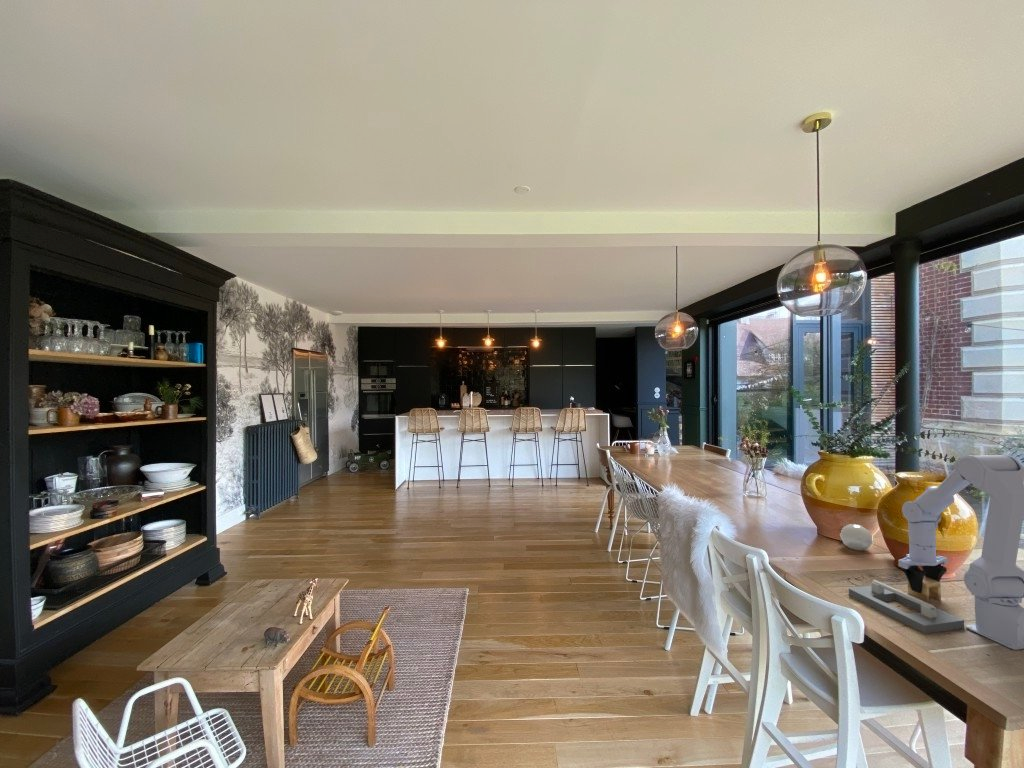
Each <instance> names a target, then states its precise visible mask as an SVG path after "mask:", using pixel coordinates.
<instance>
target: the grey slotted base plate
mask: <svg viewBox="0 0 1024 768" xmlns="http://www.w3.org/2000/svg"><path fill="white" fill-rule="evenodd" d="M870 583H871V584H870V585H866V586H859V587H858V586H857V587H850V588H848V597H849V596H850V597H852V598H853V599H855V600H857V601H859V602H861V603H864V604H865V605H867V606H869V607H871V608H873V609H875V610H877V611H879V612H881V613H884V614H885V615H887V616H888V617H891V618H893V619H895V620H897V621H899V622H901V623H903V624H904V625H907V624H908V625H907V626H909V627H910V628H912V629H915V630H917V631H919V632H920V633H922V634H933V633H939V632H940V631H941V632H947V631H946V630H948V631H952V630H951V629H955V630H960V629H959V628H962V629H965V619H962V618H960V617H958V616H955V615H954V614H951V613H949V612H946V611H944V610H942V609H939V608H937V607H935V605H934V604H932V603H929V602H927V601H925V600H922V599H920V598H918V597H916V596H913V595H911V594H909V593H905V592H903V591H901V590H899V589H896V588H894V587H892V586H890V585H887V584H885V583H883V582H881V581H879V580H876V579H872V581H871V582H870ZM891 601H896V602H899V603H901V604H903V605H905V606H907V605H908V606H907V607H909V606H910V608H912V609H914V610H916V611H918V612H917V613H908V612H905V611H904V610H902V609H899V608H897V607H896V606H894V605H891V604H889V603H887V602H891Z"/></svg>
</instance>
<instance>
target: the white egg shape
mask: <svg viewBox="0 0 1024 768" xmlns="http://www.w3.org/2000/svg"><path fill="white" fill-rule="evenodd" d="M845 525H846V526H844V527H843V528H842V530H841V533H840V534H839V533H838V536H840V539H841V540H842V544H843V545H845V546H846V547H848V548H849V549H851V550H852V551H853V550H855V551H866V550H869V548H870V547H871V546H872V544H873V536H872V534H871V532H870V530H869V529H867V528H865V527H864V526H863V525H861V524H856V523H854V524H853V523H849V524H845Z"/></svg>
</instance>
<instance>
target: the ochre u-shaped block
mask: <svg viewBox="0 0 1024 768" xmlns="http://www.w3.org/2000/svg"><path fill="white" fill-rule="evenodd" d="M906 578H907V577H906ZM941 592H942V591H941V581H940V582H938V581H936V580H933V579H931V578H928V577H926V576H924V578H923V582H922V591H921V593H918V592H915V591H913V590H912V589H911V586H910V583H909V581H908V578H907V594H908V595H910V596H913V597H915V598H917V599H920V600H922V601H924V602H930V598H933V599H935V600H937V601H941V600H942V595H941V594H942V593H941Z"/></svg>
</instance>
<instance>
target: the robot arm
mask: <svg viewBox="0 0 1024 768" xmlns="http://www.w3.org/2000/svg"><path fill="white" fill-rule="evenodd" d="M953 467H954V469H953V470H952V471H951V472H950V473H949V474H948V475H947V476H946V477H945V479H943V481H942V482H941V483H940V484H939V485H937V486H936V485H931V486H926V487H925V489H924V490H925V491H924V492H923V493H922V494H921V495H919V496H917V497H916V498H915V500H913V501H905V502H904V503H903V505H902V507H901V513H902V515H903V517H904V519H906V520H907V527H908V528H907V529H908V531H907V532H908V537H909V554H906V555H905V557H904V558H900V559H898V561H897V562H898V567H900V568H901V570H902V571H903V573H904V574H905V576H906V578H908V580H907V582H908V581H909V583H910V586H911V589H912V590H913V591H915V592H918V593H921V591H922V582H923V578H924V576H926V577H928V578H931V579H933V580H936V581H938V582H940V583H941V579H942V578H943V576H944V575H945V573H946V572H947V569H948V568H947V567H945V566H946V565H948V558H947V557H945V556H944V555H943V556H940V555H937V556H936V548H937V538H936V537H937V536H936V530H937V528H939V527H938V524H939V522H940V521H941V519H942V512H944V511H945V510H946V509H947V508H949V507H950V506H951V505H952V504H953V503H955V495H957V494H958V493H959V492H961V491H963V490H964V489H965V488H966V487H968V486H969V485H973V486H974V487H976V488H977V489H978V490H979V491H981V492H983V493H985V494H986V495H988V497H989V503H988V510H987V517H986V523H985V530H984V535H983V543H982V549H981V556H979V557H978V558H977V559H975V560H973V561H972V562H970V564H969V567H968V570H967V571H966V572H965V573H964V575H963V582H964V585H965V587H966V588H967V590H968V591H969V592H970V593H971V595H972V596H974V619H975V623H974V624H970V625H969V624H968V625H965V629H968V630H970V631H972V632H974V633H976V634H978V635H981V636H982V637H985V638H987V639H989V640H991V641H994V642H996V643H998V644H1000V645H1003V646H1005V647H1007V648H1009V649H1011V650H1014V651H1016V650H1023V649H1024V606H1022V605H1020V604H1023V599H1024V569H1022V568H1021V567H1019V566H1018V565H1017V560H1018V552H1019V547H1020V541H1021V535H1022V529H1023V522H1024V466H1023V465H1022V463H1020V462H1019V460H1017V458H1016V457H1014V456H1012V455H1010V454H1007V453H1006V454H1005V453H1003V454H995V455H994V454H987V455H979V454H978V455H973V454H972V455H971V454H965V455H962V456H960V457H959V459H958V460H957V461H955V462H954V463H953ZM941 564H943V566H941ZM944 565H945V566H944ZM920 567H921V568H922V569H921V568H920Z"/></svg>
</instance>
